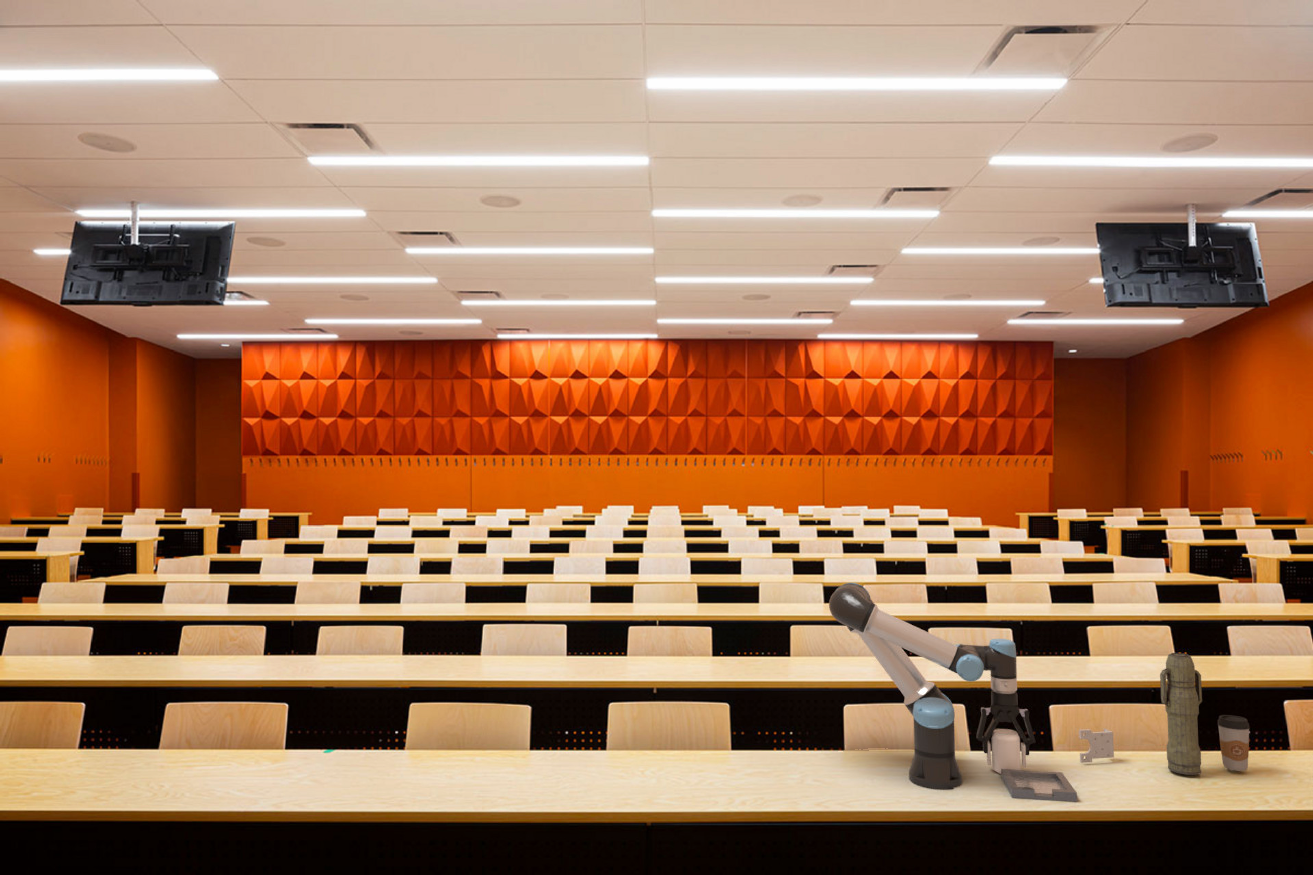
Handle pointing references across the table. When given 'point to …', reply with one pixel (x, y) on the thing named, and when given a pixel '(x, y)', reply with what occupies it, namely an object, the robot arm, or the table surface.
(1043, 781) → the chassis pocket
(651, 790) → the table surface
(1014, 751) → the beverage can
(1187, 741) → the thermos
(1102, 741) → the bracket
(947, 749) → the robot arm
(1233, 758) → the coffee cup
